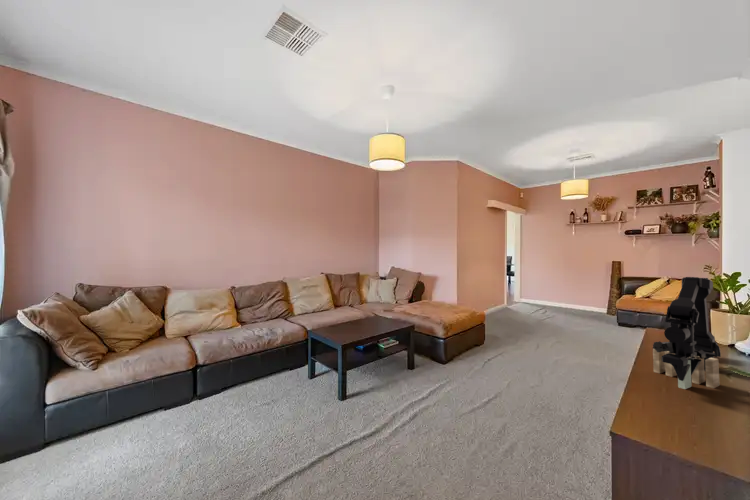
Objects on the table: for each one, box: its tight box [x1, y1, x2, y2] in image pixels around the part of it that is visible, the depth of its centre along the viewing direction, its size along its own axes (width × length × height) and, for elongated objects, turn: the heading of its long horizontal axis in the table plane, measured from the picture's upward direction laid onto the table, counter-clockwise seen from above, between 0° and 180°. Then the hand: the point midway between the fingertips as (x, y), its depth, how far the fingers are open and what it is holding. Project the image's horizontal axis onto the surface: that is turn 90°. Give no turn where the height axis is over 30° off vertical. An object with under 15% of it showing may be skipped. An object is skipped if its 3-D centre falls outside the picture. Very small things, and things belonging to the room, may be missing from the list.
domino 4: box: [691, 356, 706, 385], centre depth 121 cm, size 2×5×10 cm, turn 116°
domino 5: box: [704, 357, 720, 389], centre depth 117 cm, size 2×5×10 cm, turn 115°
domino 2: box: [665, 351, 677, 378], centre depth 128 cm, size 2×5×10 cm, turn 115°
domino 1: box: [652, 348, 666, 375], centre depth 131 cm, size 2×5×10 cm, turn 115°
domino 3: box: [677, 360, 693, 390], centre depth 117 cm, size 2×5×10 cm, turn 115°
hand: (684, 378), depth 117 cm, fingers closed on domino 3, 5 cm apart
